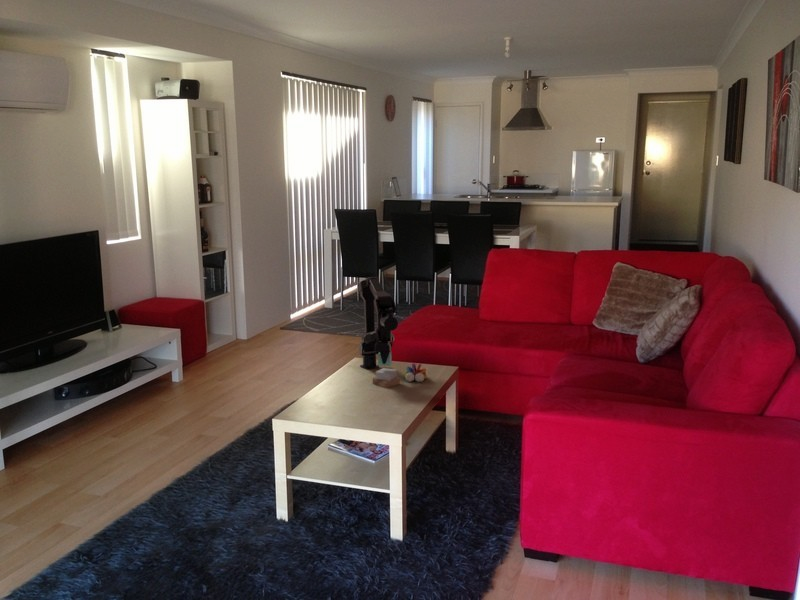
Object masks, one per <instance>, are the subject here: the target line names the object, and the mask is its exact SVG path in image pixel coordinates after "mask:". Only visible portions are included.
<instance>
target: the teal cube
mask: <svg viewBox="0 0 800 600" xmlns="http://www.w3.org/2000/svg"><path fill="white" fill-rule="evenodd" d="M377 364H378V366H379V367H391V366H392V350H390V353H389V355H388V358H387V361H386V364H383V362H382V359H381V355H380V352H379V353H378V354H377Z"/></svg>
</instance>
